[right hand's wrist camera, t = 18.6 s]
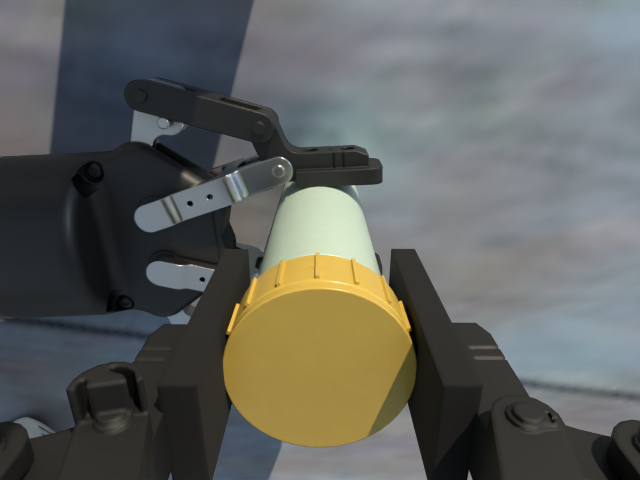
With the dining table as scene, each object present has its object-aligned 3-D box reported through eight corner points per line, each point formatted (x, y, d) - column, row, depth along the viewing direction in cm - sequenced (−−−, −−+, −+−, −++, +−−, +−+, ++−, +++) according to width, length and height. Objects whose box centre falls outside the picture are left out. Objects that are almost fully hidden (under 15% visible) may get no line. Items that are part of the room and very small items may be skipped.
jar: (312, 139, 25) (301, 250, 10) (368, 181, 26) (432, 339, 11) (271, 195, 27) (209, 366, 12) (326, 233, 27) (334, 437, 13)
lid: (343, 421, 14) (346, 474, 12) (204, 351, 13) (185, 398, 11) (440, 307, 12) (460, 349, 10) (290, 219, 11) (285, 247, 9)
